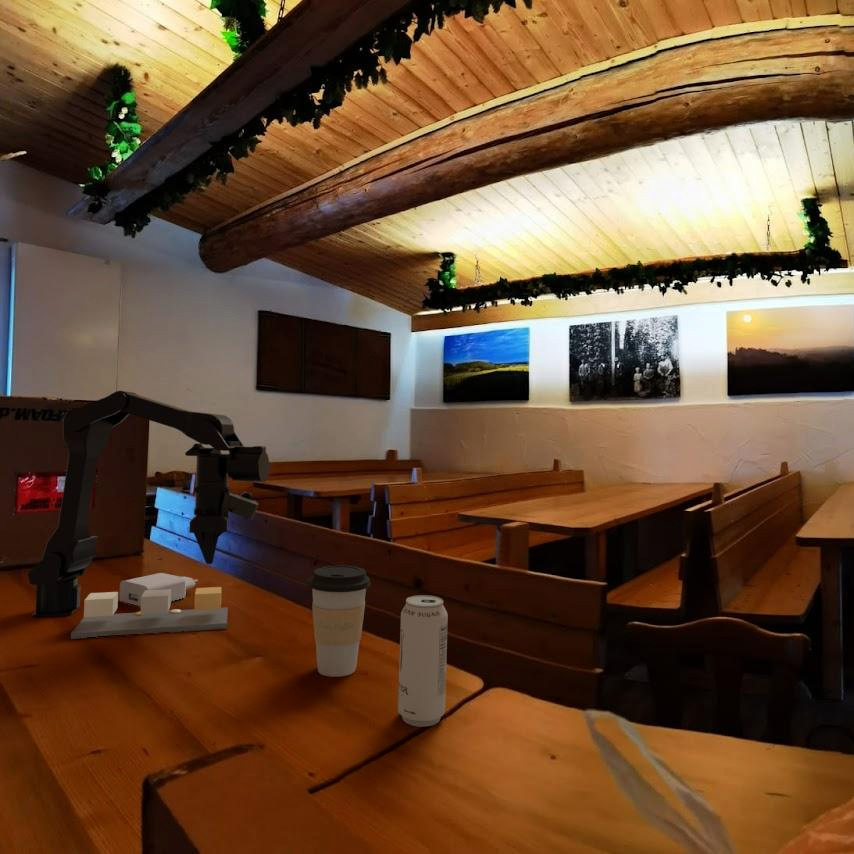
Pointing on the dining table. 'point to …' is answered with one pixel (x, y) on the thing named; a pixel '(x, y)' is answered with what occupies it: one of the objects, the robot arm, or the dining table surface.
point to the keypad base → (151, 623)
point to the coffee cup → (338, 617)
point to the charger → (154, 587)
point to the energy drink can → (422, 660)
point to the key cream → (101, 604)
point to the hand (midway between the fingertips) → (209, 563)
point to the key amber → (207, 598)
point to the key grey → (155, 601)
